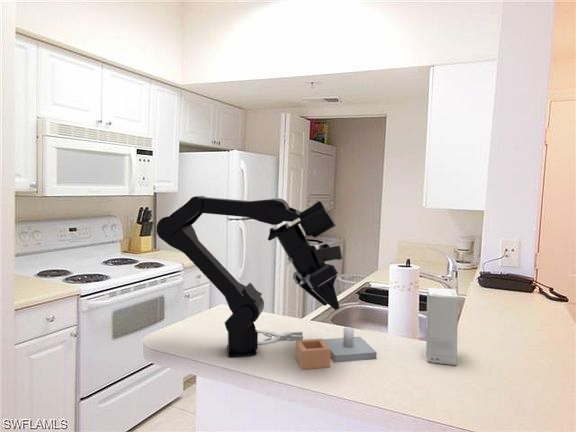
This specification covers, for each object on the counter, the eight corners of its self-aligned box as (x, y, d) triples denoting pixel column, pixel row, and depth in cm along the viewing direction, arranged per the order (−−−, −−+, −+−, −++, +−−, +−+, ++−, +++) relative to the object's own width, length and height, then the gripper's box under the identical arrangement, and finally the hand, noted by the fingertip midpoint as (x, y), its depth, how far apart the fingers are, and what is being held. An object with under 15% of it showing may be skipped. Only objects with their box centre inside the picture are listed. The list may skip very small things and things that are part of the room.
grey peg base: (334, 362, 94) (335, 338, 94) (322, 345, 104) (322, 323, 104) (376, 358, 96) (377, 335, 96) (359, 342, 106) (360, 321, 106)
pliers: (246, 326, 113) (302, 327, 113) (246, 332, 114) (301, 332, 114) (242, 340, 104) (303, 340, 104) (242, 346, 104) (303, 347, 104)
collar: (301, 369, 91) (302, 351, 90) (295, 357, 97) (295, 340, 96) (330, 366, 92) (330, 349, 92) (321, 355, 98) (322, 338, 98)
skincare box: (456, 366, 93) (459, 297, 91) (425, 362, 95) (427, 294, 93) (453, 352, 101) (456, 288, 99) (424, 348, 103) (427, 286, 101)
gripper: (338, 227, 89) (375, 291, 89) (316, 233, 107) (347, 286, 107) (293, 253, 86) (332, 319, 86) (279, 255, 105) (310, 309, 104)
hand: (331, 306), depth 96 cm, fingers open, 9 cm apart
